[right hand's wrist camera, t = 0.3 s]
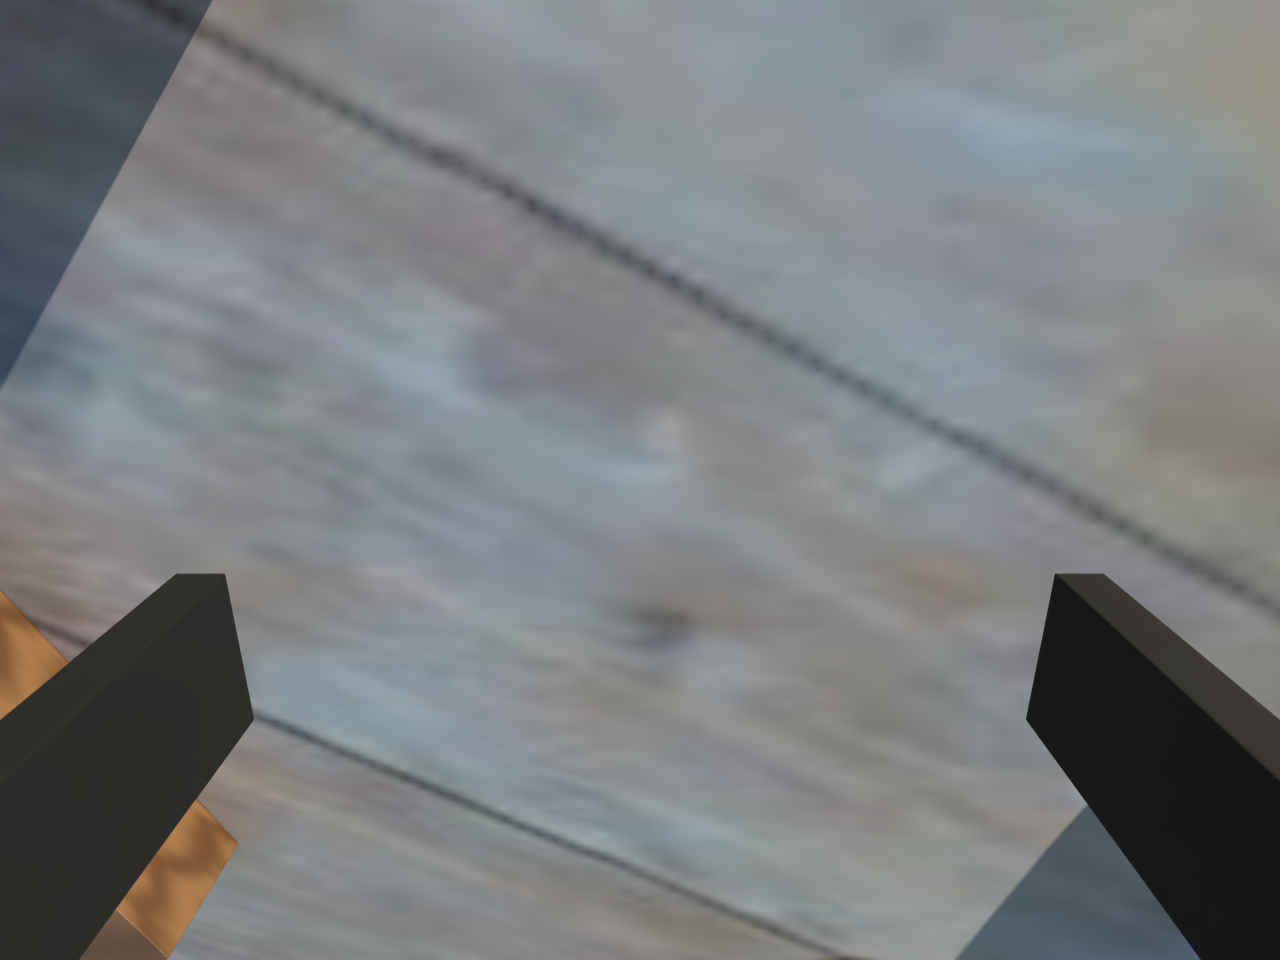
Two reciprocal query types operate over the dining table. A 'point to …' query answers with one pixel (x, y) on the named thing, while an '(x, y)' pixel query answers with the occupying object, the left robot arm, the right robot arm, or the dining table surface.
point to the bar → (184, 865)
